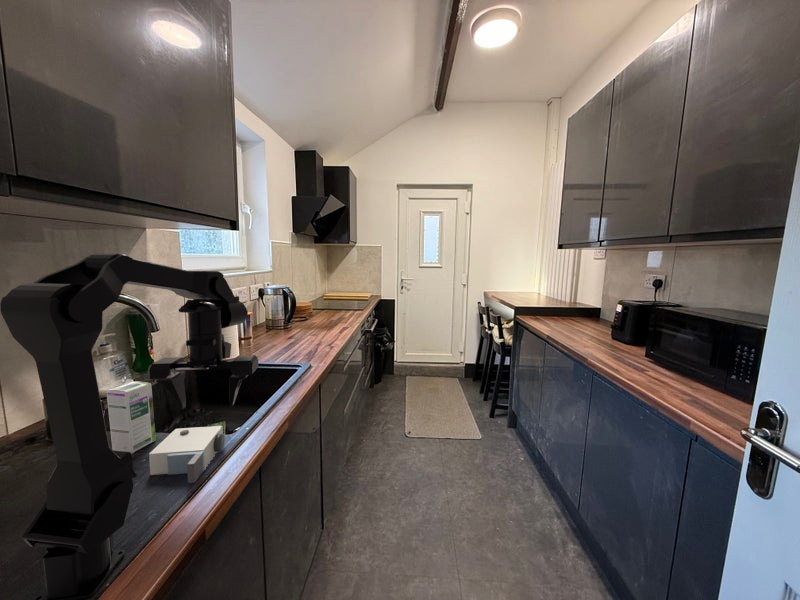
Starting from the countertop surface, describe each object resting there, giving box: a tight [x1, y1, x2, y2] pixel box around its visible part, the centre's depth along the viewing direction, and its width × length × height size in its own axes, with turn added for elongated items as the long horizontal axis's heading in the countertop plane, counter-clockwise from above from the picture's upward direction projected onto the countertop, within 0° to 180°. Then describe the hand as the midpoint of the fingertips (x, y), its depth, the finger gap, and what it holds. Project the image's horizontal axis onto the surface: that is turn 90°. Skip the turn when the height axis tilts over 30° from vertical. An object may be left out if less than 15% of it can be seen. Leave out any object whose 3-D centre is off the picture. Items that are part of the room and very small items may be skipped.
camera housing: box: [148, 425, 226, 476], centre depth 69 cm, size 10×11×5 cm
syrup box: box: [106, 381, 157, 455], centre depth 73 cm, size 6×6×14 cm
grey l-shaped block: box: [167, 451, 206, 484], centre depth 62 cm, size 4×6×4 cm, turn 99°
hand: (208, 406), depth 65 cm, fingers open, 9 cm apart
